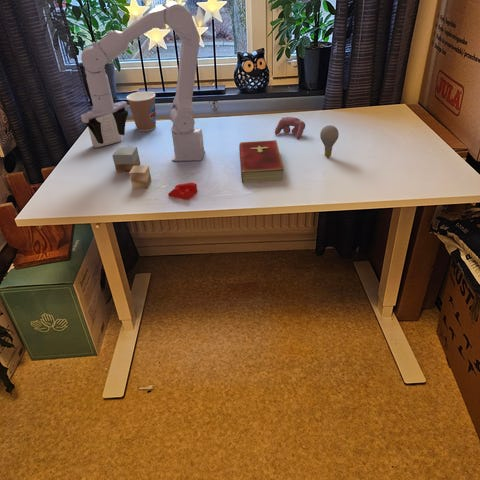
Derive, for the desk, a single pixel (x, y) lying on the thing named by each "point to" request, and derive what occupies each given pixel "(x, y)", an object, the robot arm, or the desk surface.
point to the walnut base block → (126, 166)
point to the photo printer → (106, 131)
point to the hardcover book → (260, 161)
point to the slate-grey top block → (125, 155)
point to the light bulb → (329, 138)
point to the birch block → (140, 176)
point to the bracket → (184, 191)
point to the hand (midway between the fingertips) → (111, 138)
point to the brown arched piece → (291, 121)
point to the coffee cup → (143, 110)
